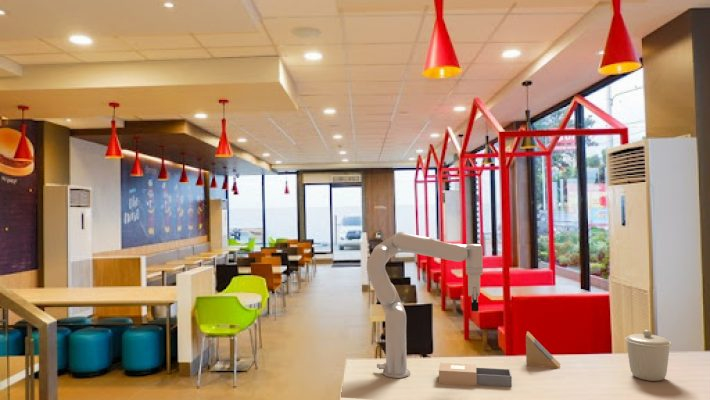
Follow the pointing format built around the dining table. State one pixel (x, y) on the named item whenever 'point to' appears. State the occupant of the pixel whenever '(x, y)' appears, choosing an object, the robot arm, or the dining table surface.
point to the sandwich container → (538, 354)
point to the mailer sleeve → (457, 374)
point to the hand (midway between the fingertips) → (474, 310)
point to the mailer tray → (494, 377)
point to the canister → (648, 355)
